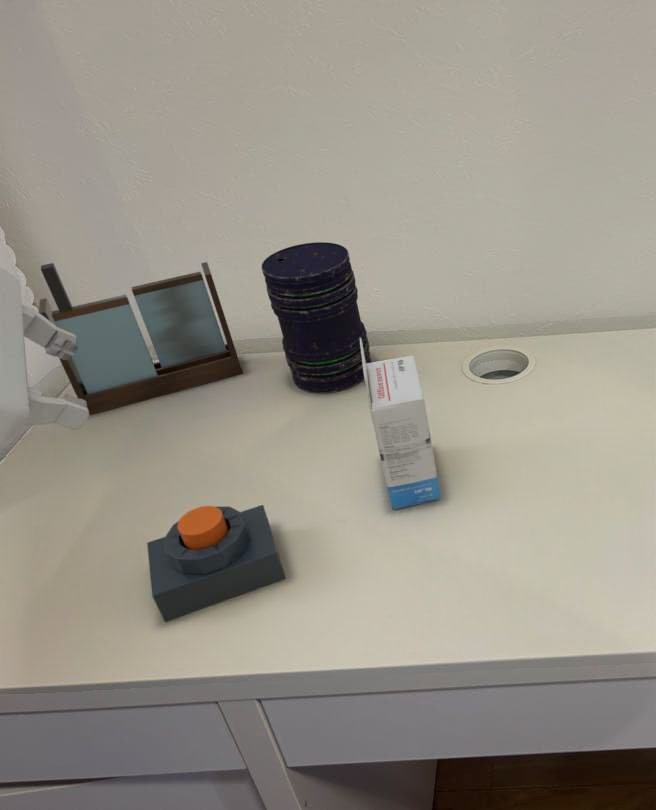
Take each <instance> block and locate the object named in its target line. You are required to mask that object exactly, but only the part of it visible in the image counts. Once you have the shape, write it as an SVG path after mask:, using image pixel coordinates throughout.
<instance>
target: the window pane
mask: <svg viewBox="0 0 656 810" xmlns="http://www.w3.org/2000/svg"><path fill="white" fill-rule="evenodd" d="M40 271H41V274H42V276H43V278H44V280H45V282H46V285H47V287H48V289H49V291H50V293H51V296H52V298H53V300H54V302H55V305H56V307H57V309H56V310H52V314H51V315H52V317H53V320H54V322H55V324H56V326H57V327H58V328H61V329H63V330H65V331H68V332H70V333H73V334H75V335H76V336H77V343H78V349H77V351H76V352H75V353H74V355H73V357H72V358H71V359H72V361H73V363H74V365H75V367H76V370H77V372H78V374H79V376H80V378H81V380H82V383H83V385H84V387H85V389H86V391H87V394H91V393H95V392H99V391H103V390H106V389H110V388H114V387H118V386H122V385H125V384H129V383H133V382H137V381H140V380H144V379H148V378H152V377H155V376H158V374H157V371H156V369H155V366H154V364H153V363H154V362H153V359H152V356H151V354H150V351H149V348H148V346H147V344H146V341H145V339H144V336H143V334H142V331H141V328H140V326H139V323H138V320H137V318H136V315H135V313H134V310H133V308H132V306H131V303H130V299H129V298H128V295H127V294H122V295H118V296H113V297H109V298H105V299H100V300H96V301H91V302H87V303H83V304H77V305H73V304H72V303H71V300H70V298H69V296H68V294H67V291H66V288H65V286H64V285H63V282H62V280H61V278H60V276H59V274H58V271H57V268H56V266H55V264H54V263H53V262H51V263H47V264H42V265H41V266H40Z"/></svg>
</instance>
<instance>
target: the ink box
mask: <svg viewBox="0 0 656 810" xmlns="http://www.w3.org/2000/svg"><path fill="white" fill-rule="evenodd" d="M360 347H361V356H362V364H363V372H364V384H365V390H366V395H367V402H368V406H369V412H370V417H371V421H372V425H373V430H374V434H375V439H376V444H377V448H378V452H379V456H380V462H381V466H382V471H383V476H384V481H385V484H386V487H387V493H388V497H389V503H390V507H391V509H392V510H397V509H403V508H406V507H412V506H415V505H421V504H425V503H429V502H433V501H434V502H435V501H439V500H440V499H441V493H440V486H439V480H438V474H437V467H436V461H435V455H434V450H433V444H432V437H431V432H430V426H429V420H428V414H427V409H426V402H425V397H424V392H423V388H422V383H421V378H420V375H419V370H418V366H417V362H416V359H415V356H414V355H407V356H402V357H396V358H390V359H384V360H379V361H372V363H367V364H366V361H365V355H364V350H363V344H362V339H361V337H360Z"/></svg>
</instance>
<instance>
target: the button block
mask: <svg viewBox="0 0 656 810" xmlns="http://www.w3.org/2000/svg"><path fill="white" fill-rule="evenodd" d="M216 507H217V508H219V509H220V510H221V511H222V514H223V517H224V519H225V522H226V524H227V527H228V532H227V534H226V536H225V537H224V538H223V539H222V540H220V541H219V542H218V543H216V544H215V545H212V546H209V547H206V548H203V549H189V548H188V547H186V546H185V544H184V542H183V540H182V537H181V535H180V533H179V531H178V522H179V520H178V521H176V522H175V523H174V524H172V526H171V528H170V529H169V530H168V531H167V533H166V535H165V536H164V537H161V538H157V539H154V540H152V541H148V542H147V543H146V546H147V556H148V567H149V577H150V585H151V587H150V588H151V596H152V598H153V600H154V603H155V605H156V606H157V609H158V611H159V613H160V615H161V617H162V619H163V621H164V622H165V623H167V622H169V621H173V620H176V619H179V618H180V617H183V616H186V615H189V614H192V613H194V612H197V611H201V610H202V609H203V610H204V609H205V608H208V607H211V606H214V605H217V604H219V603H222V602H224V601H227V600H231V599H233V598H235V597H239V596H241V595H244V594H247V593H250V592H252V591H255V590H259V589H262V588H263V587H267V586H269V585H272V584H275V583H277V582H280V581H283V580H286V579H287V578H286V573H285V570H284V567H283V563H282V560H281V557H280V553H279V550H278V547H277V543H276V539H275V536H274V533H273V530H272V526H271V524H270V521H269V518H268V515H267V512H266V509H265V506H264V504H261V505H257V506H254V507H251V508H248V509H245V510H243V511H239V510H237V509H235V508H234V507H231V506H216Z"/></svg>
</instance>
